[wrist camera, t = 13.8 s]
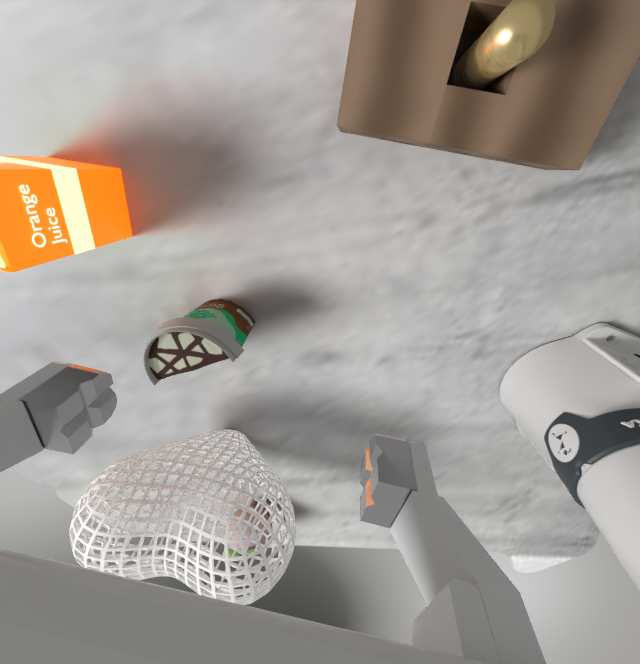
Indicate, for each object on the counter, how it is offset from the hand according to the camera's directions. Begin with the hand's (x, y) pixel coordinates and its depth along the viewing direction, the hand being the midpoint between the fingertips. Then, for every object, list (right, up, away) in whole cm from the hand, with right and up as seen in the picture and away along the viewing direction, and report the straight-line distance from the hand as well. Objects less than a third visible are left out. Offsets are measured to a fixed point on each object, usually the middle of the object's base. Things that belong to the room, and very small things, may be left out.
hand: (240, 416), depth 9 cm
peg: (+15, +25, +17) cm, 34 cm away
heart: (-13, -15, +43) cm, 47 cm away
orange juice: (-25, +19, +26) cm, 41 cm away
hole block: (+15, +25, +17) cm, 34 cm away
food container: (-12, +5, +32) cm, 34 cm away
